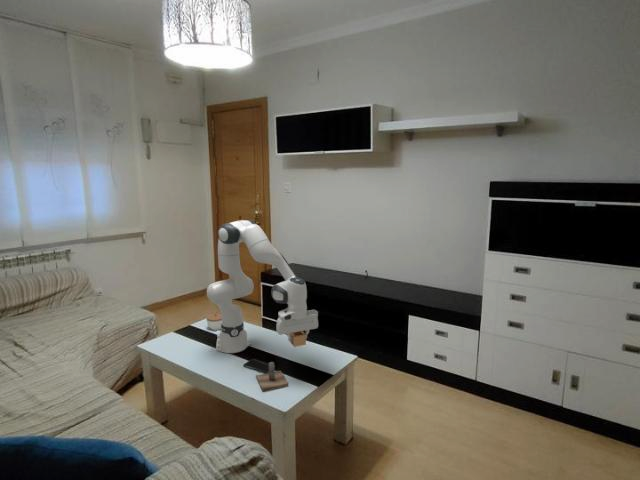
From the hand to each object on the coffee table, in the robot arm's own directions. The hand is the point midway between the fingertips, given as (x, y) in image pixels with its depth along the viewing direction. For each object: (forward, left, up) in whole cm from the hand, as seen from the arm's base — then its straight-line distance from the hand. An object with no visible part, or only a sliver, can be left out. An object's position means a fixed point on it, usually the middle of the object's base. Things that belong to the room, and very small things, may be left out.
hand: (297, 339), depth 188 cm
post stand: (+4, -14, -17) cm, 22 cm away
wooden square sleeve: (0, 0, -2) cm, 2 cm away
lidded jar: (-68, -29, -17) cm, 76 cm away
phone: (-12, -16, -18) cm, 27 cm away
